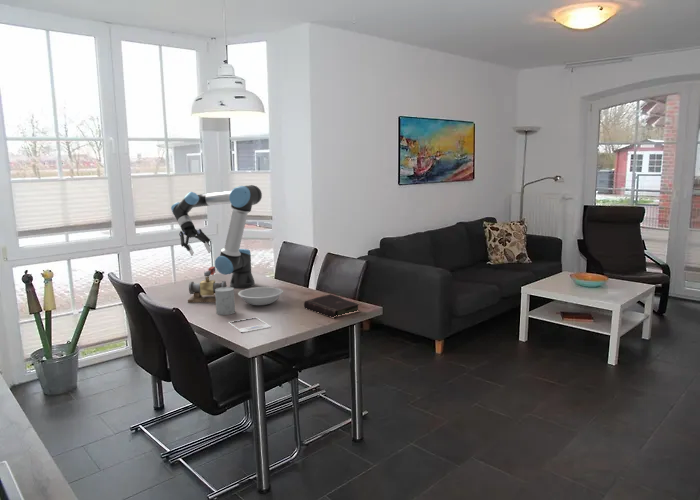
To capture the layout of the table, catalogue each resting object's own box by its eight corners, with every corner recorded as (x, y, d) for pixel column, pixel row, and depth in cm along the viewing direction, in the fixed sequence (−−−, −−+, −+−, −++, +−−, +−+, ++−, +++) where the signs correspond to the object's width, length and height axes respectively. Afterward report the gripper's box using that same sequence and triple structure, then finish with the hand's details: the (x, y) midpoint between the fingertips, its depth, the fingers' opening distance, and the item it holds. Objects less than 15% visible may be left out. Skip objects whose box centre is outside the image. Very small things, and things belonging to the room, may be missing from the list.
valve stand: (228, 296, 296) (227, 274, 294) (224, 302, 285) (223, 279, 283) (193, 297, 296) (192, 275, 293) (187, 302, 285) (186, 279, 283)
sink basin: (291, 301, 286) (291, 289, 285) (265, 312, 265) (264, 300, 264) (257, 296, 297) (256, 285, 296) (229, 306, 276) (228, 294, 275)
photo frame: (241, 331, 233) (228, 321, 248) (241, 334, 234) (228, 323, 249) (271, 326, 241) (256, 316, 256) (271, 328, 241) (256, 318, 256)
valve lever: (215, 272, 302) (215, 266, 302) (209, 278, 287) (208, 272, 286) (210, 272, 302) (210, 266, 301) (203, 278, 287) (203, 272, 286)
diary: (333, 320, 253) (333, 310, 252) (304, 309, 272) (303, 300, 271) (361, 312, 265) (361, 303, 264) (331, 302, 284) (331, 293, 283)
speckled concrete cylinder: (238, 310, 269) (237, 287, 267) (228, 315, 260) (227, 292, 258) (222, 308, 272) (221, 286, 270) (212, 314, 263) (211, 290, 261)
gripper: (201, 226, 322) (216, 254, 314) (166, 230, 306) (181, 259, 298) (205, 218, 318) (220, 246, 310) (170, 222, 301) (185, 251, 293)
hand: (201, 253), depth 304 cm, fingers open, 11 cm apart
